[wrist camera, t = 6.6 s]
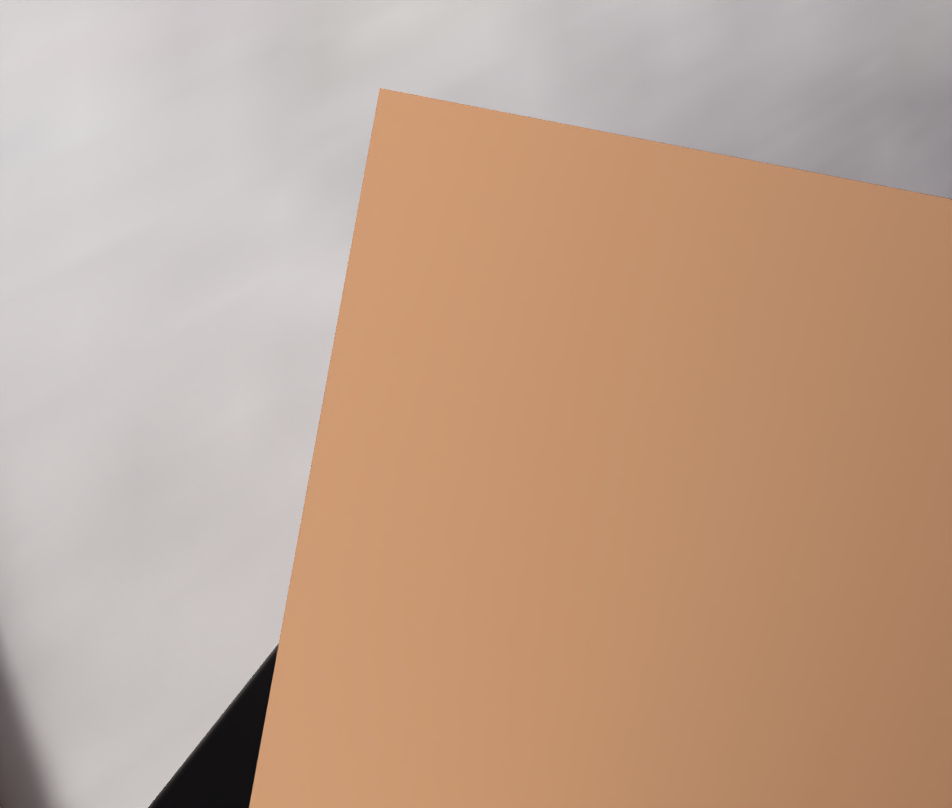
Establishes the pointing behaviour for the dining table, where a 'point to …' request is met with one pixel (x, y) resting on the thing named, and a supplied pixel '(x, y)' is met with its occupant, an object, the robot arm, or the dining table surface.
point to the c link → (622, 485)
